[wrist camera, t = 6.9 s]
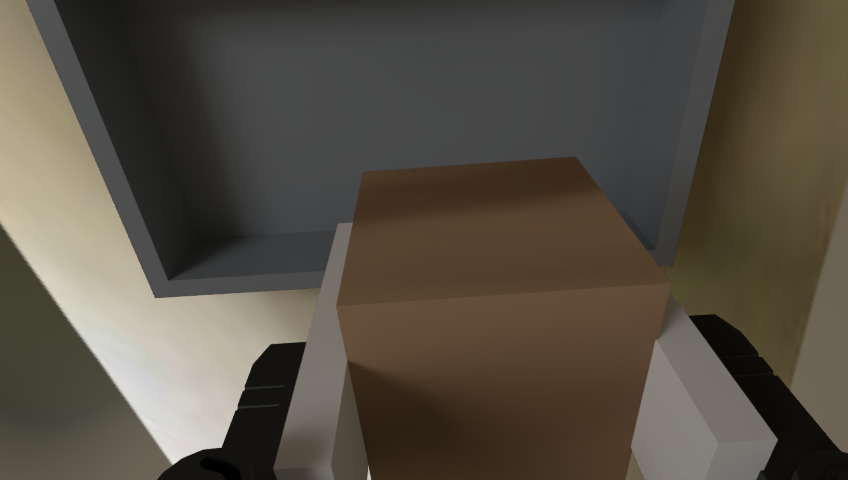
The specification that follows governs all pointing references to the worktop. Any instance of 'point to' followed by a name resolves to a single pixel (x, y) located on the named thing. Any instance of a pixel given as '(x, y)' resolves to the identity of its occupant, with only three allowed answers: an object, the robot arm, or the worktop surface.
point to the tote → (369, 113)
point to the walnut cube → (497, 323)
